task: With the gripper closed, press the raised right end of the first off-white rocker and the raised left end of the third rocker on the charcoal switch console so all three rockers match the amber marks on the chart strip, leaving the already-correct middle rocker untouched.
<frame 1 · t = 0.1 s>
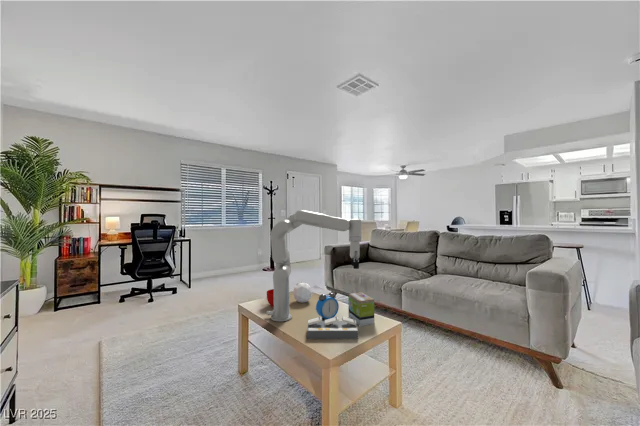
hand: (355, 267, 169), 31 cm above the table, fingers open, 9 cm apart
geodesic sphere: (302, 302, 200), on the table
alarm clock: (327, 318, 169), on the table
rocker 3: (349, 320, 149), point 6 cm above the table, hinge at 16.0°
ceramic cup: (274, 305, 193), on the table
switch console: (332, 333, 148), on the table
rocker 1: (315, 320, 149), point 6 cm above the table, hinge at -16.0°
tea box: (361, 321, 165), on the table
rocker 2: (331, 320, 149), point 6 cm above the table, hinge at -16.0°
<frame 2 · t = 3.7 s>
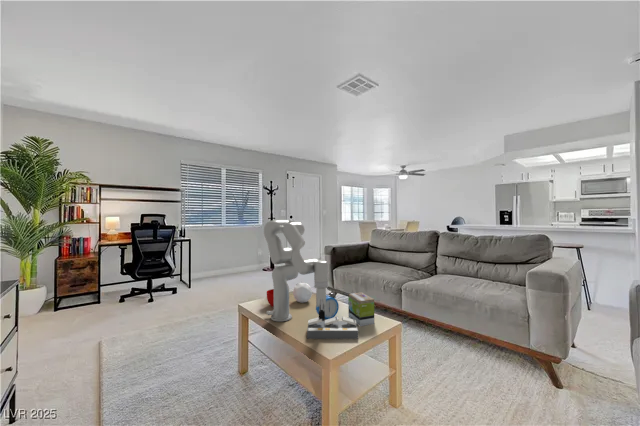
hand: (321, 318, 149), 8 cm above the table, fingers closed
rocker 1: (315, 320, 149), point 6 cm above the table, hinge at -15.2°, touching gripper
everything else where it was.
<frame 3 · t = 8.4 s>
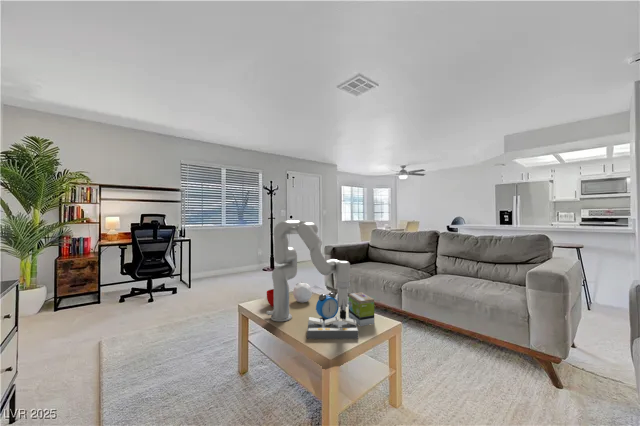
hand: (342, 318, 149), 8 cm above the table, fingers closed
rocker 3: (349, 320, 149), point 6 cm above the table, hinge at 15.3°, touching gripper
rocker 1: (315, 320, 149), point 6 cm above the table, hinge at 10.4°
everything else where it was.
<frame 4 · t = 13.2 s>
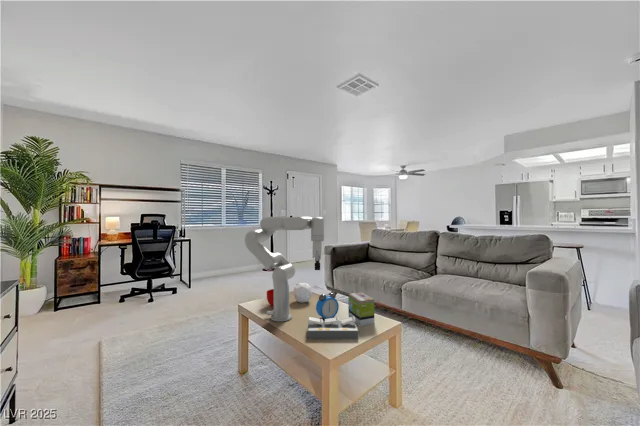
hand: (317, 269, 161), 31 cm above the table, fingers closed
rocker 3: (348, 320, 149), point 6 cm above the table, hinge at -18.2°
rocker 2: (331, 320, 149), point 6 cm above the table, hinge at -8.5°
everything else where it was.
at the end: rocker 1 at +10° (first picture: -16°); rocker 2 at -8° (first picture: -16°); rocker 3 at -18° (first picture: +16°) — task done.
